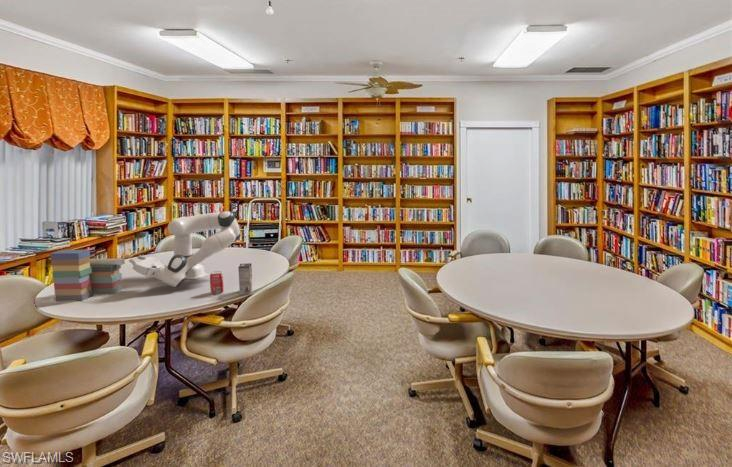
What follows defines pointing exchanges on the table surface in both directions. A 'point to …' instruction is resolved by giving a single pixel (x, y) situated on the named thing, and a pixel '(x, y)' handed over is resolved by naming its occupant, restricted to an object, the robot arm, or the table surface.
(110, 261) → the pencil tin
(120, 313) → the table surface
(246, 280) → the coffee box
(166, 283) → the robot arm
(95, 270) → the short book stack
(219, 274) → the soda can
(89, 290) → the tall book stack
